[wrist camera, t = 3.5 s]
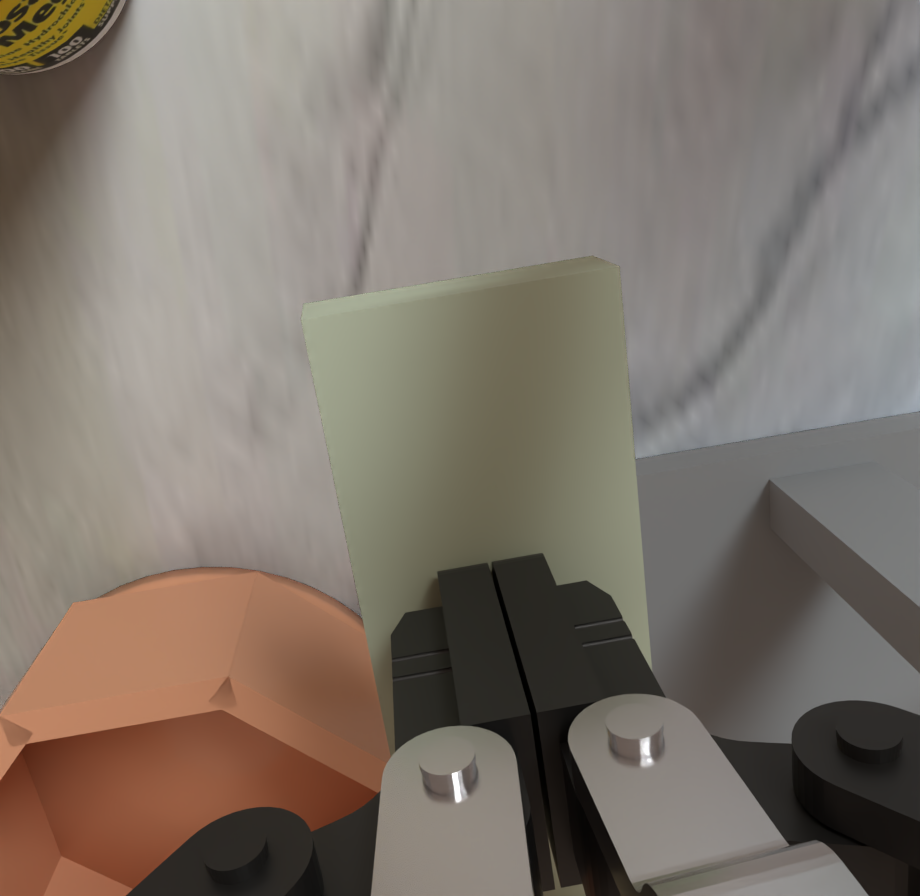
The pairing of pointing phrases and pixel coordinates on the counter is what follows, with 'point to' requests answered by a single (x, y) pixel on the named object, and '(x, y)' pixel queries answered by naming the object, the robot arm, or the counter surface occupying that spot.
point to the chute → (480, 440)
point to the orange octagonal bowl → (181, 725)
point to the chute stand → (785, 574)
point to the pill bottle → (51, 31)
